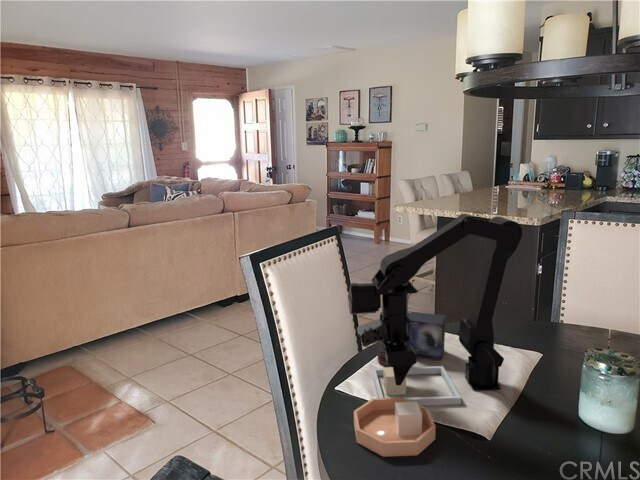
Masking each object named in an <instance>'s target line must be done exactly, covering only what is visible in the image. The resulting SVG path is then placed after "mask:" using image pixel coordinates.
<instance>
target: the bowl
mask: <svg viewBox="0 0 640 480" xmlns="http://www.w3.org/2000/svg"><path fill="white" fill-rule="evenodd" d="M405 398H406V397H383V398H378V397H377V398H371V399H370V400H368V401H367V402H365V403H363V404H362V405H361V406H359V407H357V408H356V409H355V410H353V427H354V431H355V439H356V443H358V445H359V444H360V446H363V447H364V448H367V449H368V450H370V451H372V452H373V453H376V454H378V455H379V456H382V457H383V458H385V457H409V456H418V455H419V454H421V453H422V452H423V451H424V450H425V449H427V447H429V446H430V445H431V444H432V443H433V442H434V441H435V440H436V428H437V427H436V424H435V422H434V419H433V417H432V415H431V413H430V410H429V408H428V407H427V406H426V407H425V405H422V406H421V405H419V404H418V405H419V408H420V410H421V413H422V435H409V436H399V435H398V432H397V428H396V425H395V402H412V401H409V400H407V399H405Z"/></svg>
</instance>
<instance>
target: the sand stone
mask: <svg viewBox="0 0 640 480" xmlns="http://www.w3.org/2000/svg"><path fill="white" fill-rule="evenodd" d="M382 377H383V378H382V380H383V383H382V384H383V385H382V386H383V389H384V388H385V389H384V392H385V395H390V396H391V395H406V394H407V376H406V377H405V379H404V380H403V382H402V384H401V385H396V383H395V378H394V372H393V367H392V366H388V367H386V366H385V367H383V376H382Z"/></svg>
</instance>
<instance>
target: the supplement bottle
mask: <svg viewBox="0 0 640 480" xmlns="http://www.w3.org/2000/svg"><path fill="white" fill-rule="evenodd" d="M385 349H386V348H385V344H384V343H383V342H382V341H381V340H379V341H377V349H376V350H377V361H378V363H380V364H381V365H384V366H389V365H388V364H387V361H386V357H385Z"/></svg>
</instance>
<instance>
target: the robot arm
mask: <svg viewBox="0 0 640 480" xmlns="http://www.w3.org/2000/svg"><path fill="white" fill-rule="evenodd" d="M523 233H524V230H523V228H522V227H521V225H520V224H519V223H518V222H517V221H514V220H511V219H509V218H506V217H503V216H495V217H493V216H492V218H488V217H483V216H476V215H471V214H469V213H461V214H459V215H458V216H456V218H455V219H453V220H451V221H450V222H449V223H447V224H446V225H444V226H442V227H440V228H439V229H437V230H436V231H435V232H433V233H431V234H430V235H428V236H427V237H425V238H424V239H422V240H420V241H419V242H417V243H416V244H413V245H412V246H410V247H407V248H402V249H400V250H396V251H395V252H392V253H390V254H387V255H385V256H384V257H383V258H382V260H381V261H380V265H379V269H378V271H376V273H375V275H373V277H372V278H371V283H370V282H369V283H365V282H364V283H357V282H354V283H353V282H352V283H350V284H349V292H348V295H347V296H348V297H347V299H348V310H349V311H348V312H349V314H350V315H361V314H364V315H365V314H376V313H377V312H379V311H380V309H381V311H380V313H379V318H378V319H376V320H371V321H368V322H366V323H364V324H360V325H359V326H357V327H356V331H357V335H358V338H359V339H360V342H361V345H362V346H363V347H368V346H370V345H373V344H375V343H378V341H379V340H381V341H382V342H383V343H384V344H385V348H386V349H385V357H386V361H387V364H388V365H387V366H389V367H393V372H394V378H395V383H396V385H401V384H402V382H403V380H404V379H405V377H406V378H407V373H408V371H409V370H410V368H411V367H413V366H414V365H416V364H417V362H418V357H417V354H416V352H415V350H414V348H413V347H412V346H411V345H410V344H405V343H404V341H410V336H409V334H408V323H410V318H409V317H408V311H409V294H417V293H418V291H419V290H418V289H417V288H416V287H415V286H414V285H413V284H412V283H411V281H410V280H411V279H413V277H415V276H416V275H417V273H419V271H420V269H421V268H422V267H423V266H425V264H426V263H427V262H429V261H430V260H432V259H433V258H435V257H437V256H438V255H440V254H441V253H443V252H445V251H446V250H448V249H449V248H451V247H452V246H454V245H456V244H457V243H459V242H460V241H462V240H464V239H466V238H467V237H468V236H470V235H473V236H478V237H482V238H483V243H484V250H485V258H484V262H483V266H482V271H481V274H480V278H479V283H478V288H477V290H476V294H475V299H474V302H473V303H474V304H473V307H472V311H471V314H470V315H469V316H468V317H467V319H465V318H461V319H460V322H459V323H460V324H459V328H458V331H457V332H456V334H457V336H458V340H459V342H460V344H461V346H462V347H463V348H464V349H465V350H466V352H467V353H468V354H469V356H468V357H467V362H465V373H464V379H465V380H466V382H467V384H468V385H469V386H470V387H471V389H472V390H473V391H488V390H489V391H491V390H501V388H502V386H501V384H499V373H500V371H499V370H500V368H501V367H502V365H503V363H504V360H505V358H504V357H503V356H502V355H501V354H500V353H499V352H498V351H497V350H496V349H495V340H496V339H495V338H496V337H495V336H496V335H495V328H494V316H495V312H496V308H497V304H498V301H499V297H500V293H501V290H502V285H503V280H504V278H505V274H506V269H507V265H508V262H509V260H510V259H511V258H512V256H513V255H514V254H515V253H516V252H517V251H518V248H519V246H520V243H521V241H522V239H523V235H524V234H523ZM381 306H382V307H381Z"/></svg>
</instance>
